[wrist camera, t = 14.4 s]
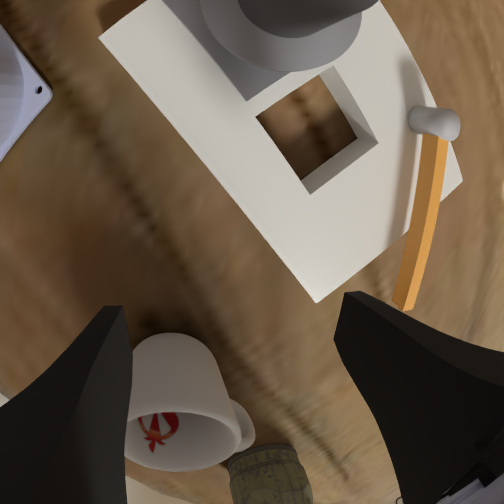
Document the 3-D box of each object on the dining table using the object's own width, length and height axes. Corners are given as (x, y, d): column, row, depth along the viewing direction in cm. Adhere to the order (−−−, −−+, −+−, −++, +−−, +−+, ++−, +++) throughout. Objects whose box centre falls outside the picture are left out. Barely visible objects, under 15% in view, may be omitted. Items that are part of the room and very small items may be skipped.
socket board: (108, 46, 14) (96, 36, 11) (302, -62, 12) (318, -80, 10) (303, 284, 23) (318, 306, 20) (441, 172, 21) (465, 181, 19)
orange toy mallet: (379, 294, 21) (401, 316, 19) (409, 103, 16) (440, 106, 13) (399, 291, 22) (421, 311, 19) (430, 108, 16) (461, 112, 14)
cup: (270, 360, 25) (300, 439, 18) (212, 412, 27) (226, 486, 20) (155, 298, 21) (149, 388, 14) (105, 366, 22) (92, 449, 15)
